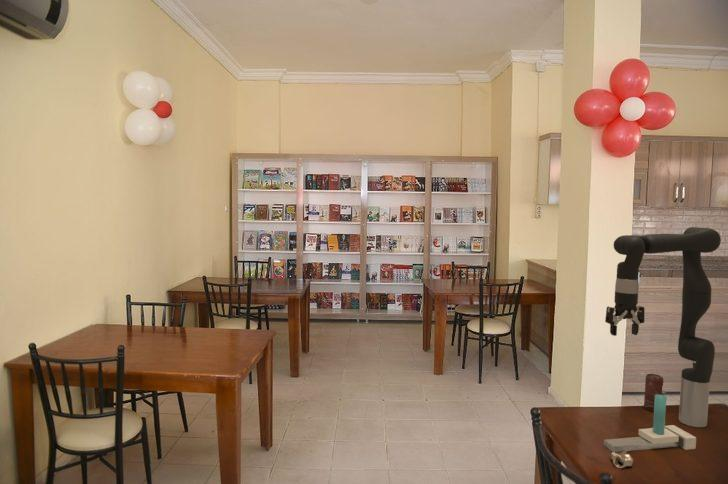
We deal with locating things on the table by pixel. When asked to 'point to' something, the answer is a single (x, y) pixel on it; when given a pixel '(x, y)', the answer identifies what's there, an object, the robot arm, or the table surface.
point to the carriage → (659, 424)
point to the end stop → (683, 437)
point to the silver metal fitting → (622, 459)
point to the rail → (634, 444)
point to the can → (652, 390)
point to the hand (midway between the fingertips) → (624, 334)
